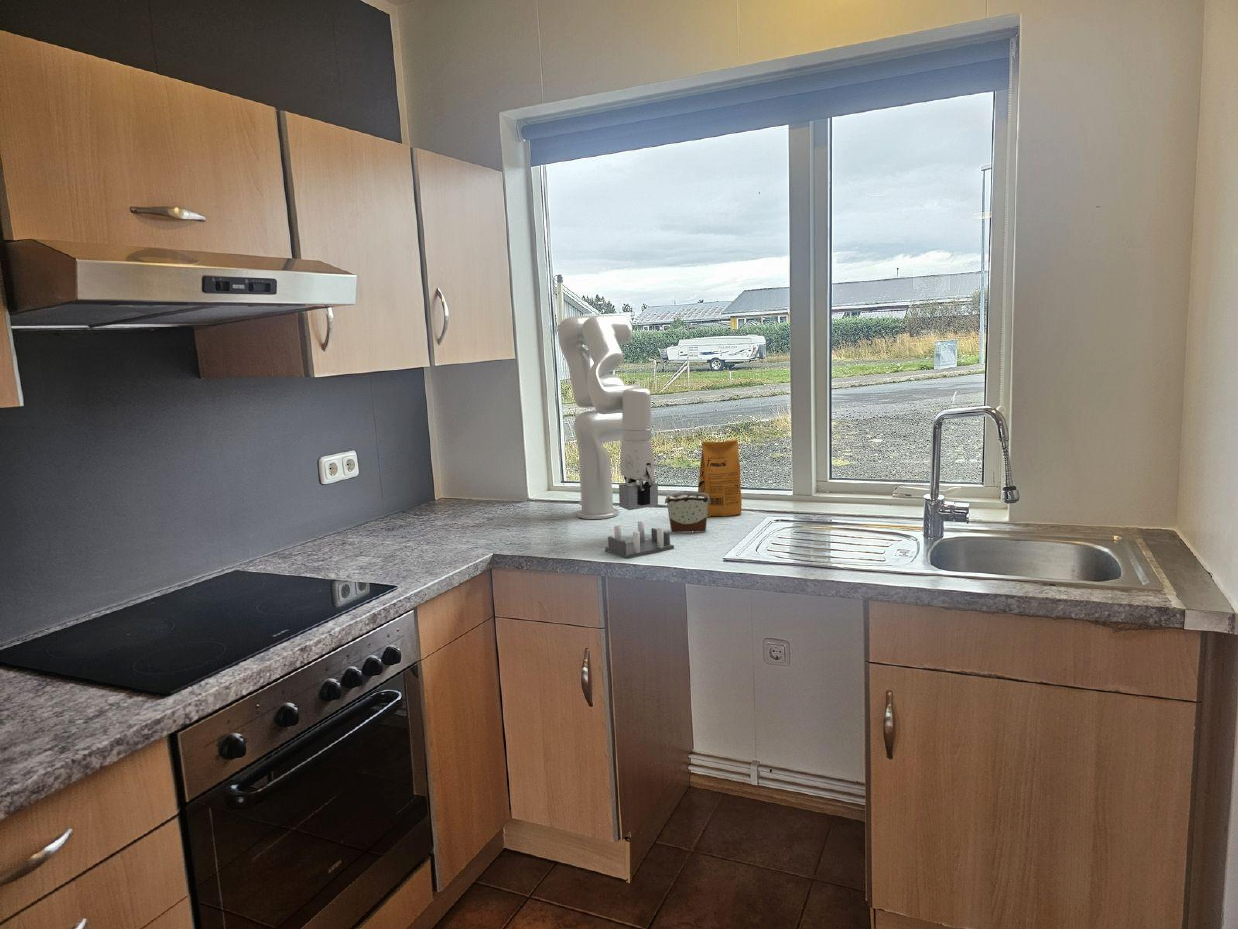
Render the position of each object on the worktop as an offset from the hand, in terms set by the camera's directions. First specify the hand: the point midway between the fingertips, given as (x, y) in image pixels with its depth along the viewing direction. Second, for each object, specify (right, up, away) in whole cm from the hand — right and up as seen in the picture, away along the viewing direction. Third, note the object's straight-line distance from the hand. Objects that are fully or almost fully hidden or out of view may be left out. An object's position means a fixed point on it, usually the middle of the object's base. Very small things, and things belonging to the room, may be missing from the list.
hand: (638, 501), depth 215 cm
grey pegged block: (0, -11, -13) cm, 17 cm away
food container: (+14, -8, +6) cm, 17 cm away
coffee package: (+25, -5, +24) cm, 35 cm away
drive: (0, -1, 0) cm, 1 cm away
